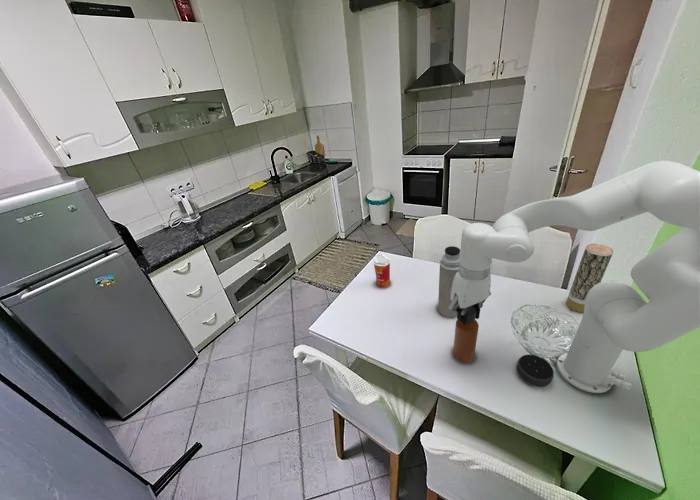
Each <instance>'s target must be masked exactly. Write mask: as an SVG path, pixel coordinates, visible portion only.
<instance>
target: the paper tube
mask: <svg viewBox="0 0 700 500" xmlns="http://www.w3.org/2000/svg"><path fill="white" fill-rule="evenodd" d="M613 254H614V249H613V248H612V247H610V246H608V245H606V244H601V243H588V244H586V245H585V248H584V250H583V254H582V256H581V259H580V261H579V265H578V268H577V271H576V273H575V276H574V278H573V282H572V284H571V287H570V290H569V293H568V296H567V298H566V302H565V305H566V306H567V307H568V309H570V310H572V311H574V312H577V313H584V307H585V301H586V297H587V294H588V292H589V291H590V289H591V288H592V287H593V286H595V285H596V284H598V283H600V282H602V280H603V278H604V275H605V273H606V270H607V269H608V266H609V264H610V261H611V258H612V256H613Z"/></svg>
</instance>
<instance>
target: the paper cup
mask: <svg viewBox="0 0 700 500" xmlns="http://www.w3.org/2000/svg"><path fill="white" fill-rule="evenodd" d="M372 264H373V266H374V272H375V279H376V285H377V286H378V287H379V288H382V289H385V288H388V287H389V286H390V284H391V283H390V282H391V259H390V257H389V256H388V255H386V254H378V255H376V256H374V257H373V260H372Z"/></svg>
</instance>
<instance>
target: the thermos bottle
mask: <svg viewBox="0 0 700 500" xmlns="http://www.w3.org/2000/svg"><path fill="white" fill-rule="evenodd" d="M460 249H461V248H459V247H457V246H453V245H449V246H447V247H445V249H444V254H443V255H442V256H441V260H440V261H439V273H438V275H439V277H438V298H437V311H438V313H439V314H440V315H442V316H443V317H446V318H454V317H457V311H451V310H450V309H449V308H448V307H449V305H450V303H451V302H452V300H451V289H452V284H453V280H454V277H455V275H456V273H457V272H458V271H459V260H460Z"/></svg>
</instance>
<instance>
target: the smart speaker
mask: <svg viewBox="0 0 700 500" xmlns="http://www.w3.org/2000/svg"><path fill="white" fill-rule="evenodd" d="M516 371H517V374H518V376H519V378H521V379H522V381H523V382H525V383H527V384H529V385H530V386H533V387H536V388H537V387H538V388H544V387H548V386H549V385H551V383H552V382H553V379H554V375H555V371H554V368H553V366H552V365H551V364H550V363H549V361H547V360H546V359H544V358H543V357H541V356H538V355H536V354H524V355H522V356H520V357H519V358H518V360H517V364H516Z"/></svg>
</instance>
